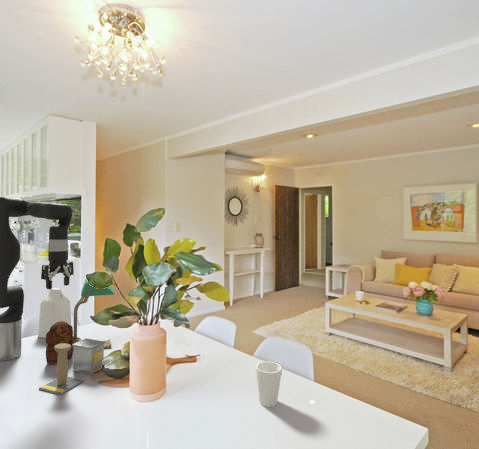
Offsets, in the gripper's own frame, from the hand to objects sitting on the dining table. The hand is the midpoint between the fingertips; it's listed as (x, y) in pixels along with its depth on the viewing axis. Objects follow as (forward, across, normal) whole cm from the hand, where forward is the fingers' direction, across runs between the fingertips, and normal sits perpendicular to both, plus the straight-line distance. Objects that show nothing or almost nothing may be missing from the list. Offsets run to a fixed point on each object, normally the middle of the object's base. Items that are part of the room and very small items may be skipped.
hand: (57, 287), depth 140 cm
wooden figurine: (+36, -8, -7) cm, 38 cm away
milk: (+36, -32, -38) cm, 62 cm away
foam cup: (+36, -9, +92) cm, 99 cm away
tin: (+36, -6, +12) cm, 38 cm away
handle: (+36, +9, +13) cm, 39 cm away
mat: (+36, +9, +13) cm, 39 cm away
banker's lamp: (+36, -25, -5) cm, 44 cm away
